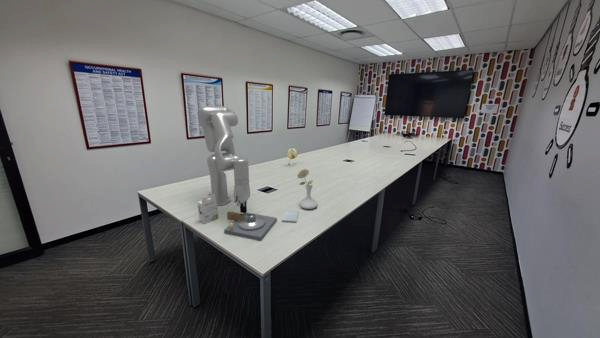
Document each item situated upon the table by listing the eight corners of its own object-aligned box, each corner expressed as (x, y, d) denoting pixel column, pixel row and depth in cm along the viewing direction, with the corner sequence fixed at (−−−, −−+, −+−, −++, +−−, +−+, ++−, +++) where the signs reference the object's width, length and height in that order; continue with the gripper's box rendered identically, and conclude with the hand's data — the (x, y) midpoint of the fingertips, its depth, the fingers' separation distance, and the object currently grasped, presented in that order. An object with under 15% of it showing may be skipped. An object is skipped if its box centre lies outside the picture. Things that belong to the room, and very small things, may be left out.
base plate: (224, 233, 116) (223, 222, 114) (244, 215, 134) (244, 205, 132) (260, 240, 110) (260, 229, 109) (276, 221, 129) (276, 211, 127)
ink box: (213, 215, 133) (211, 191, 129) (218, 218, 130) (216, 193, 126) (199, 221, 127) (196, 196, 123) (203, 224, 124) (201, 198, 120)
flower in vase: (314, 202, 153) (316, 165, 146) (319, 210, 143) (321, 171, 135) (295, 203, 151) (296, 166, 144) (298, 211, 140) (299, 172, 133)
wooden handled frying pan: (220, 225, 119) (220, 217, 118) (235, 213, 132) (235, 205, 131) (257, 232, 113) (257, 224, 112) (269, 219, 126) (269, 211, 125)
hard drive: (296, 221, 127) (299, 211, 139) (281, 220, 128) (285, 210, 139) (296, 224, 127) (299, 213, 139) (281, 223, 128) (285, 212, 140)
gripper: (242, 175, 131) (244, 205, 136) (227, 184, 117) (229, 217, 122) (254, 177, 129) (255, 207, 134) (240, 186, 115) (242, 219, 120)
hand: (243, 212), depth 128 cm, fingers closed
